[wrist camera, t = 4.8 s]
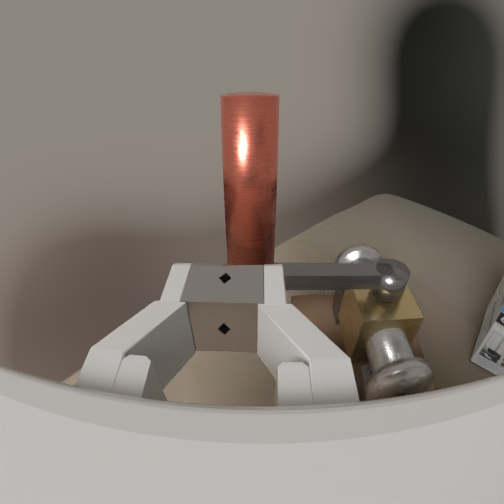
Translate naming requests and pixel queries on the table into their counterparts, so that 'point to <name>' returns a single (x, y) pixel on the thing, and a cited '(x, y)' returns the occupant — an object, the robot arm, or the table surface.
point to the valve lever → (264, 205)
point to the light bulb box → (492, 335)
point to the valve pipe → (380, 336)
